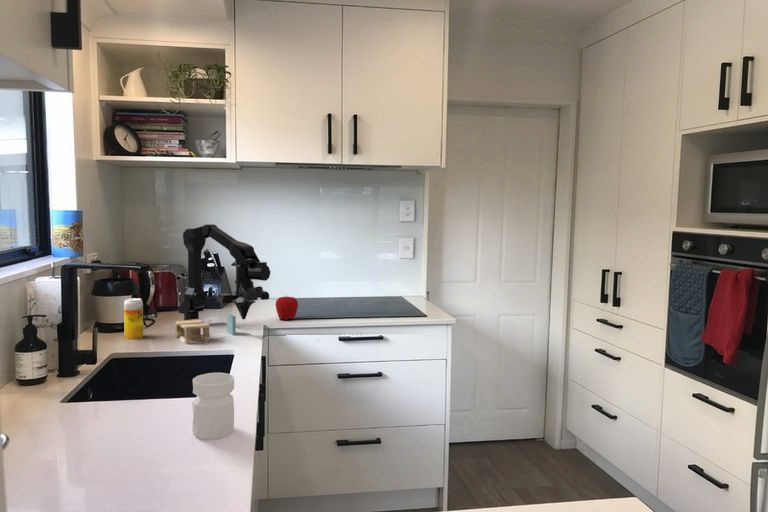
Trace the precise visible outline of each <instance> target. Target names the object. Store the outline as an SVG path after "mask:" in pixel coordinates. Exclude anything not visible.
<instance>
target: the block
mask: <svg viewBox="0 0 768 512" xmlns="http://www.w3.org/2000/svg"><path fill="white" fill-rule="evenodd" d="M201 330H202V328H197V329H191V342H194V341H193V340H198V341H202V340H201V336H202V335H201V332H202V331H201ZM184 338H185V329H184Z"/></svg>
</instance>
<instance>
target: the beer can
mask: <svg viewBox="0 0 768 512" xmlns="http://www.w3.org/2000/svg"><path fill="white" fill-rule="evenodd" d="M143 303H144V302H143V299H142V298H138V297H137V298H135V297H132V298H130V297H129V298H125V300H124V302H123V320H124V322H123V323H124V324H123V325H124V328H123V329H124V333H123V334H124V339H127V340H135V339H141V338H143V337H144V304H143Z"/></svg>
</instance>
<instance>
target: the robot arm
mask: <svg viewBox="0 0 768 512" xmlns="http://www.w3.org/2000/svg"><path fill="white" fill-rule="evenodd" d="M208 238H211V239H212V240H213V241H215V242H216V243H218V244H219V245H220V246H222V247H223V248H225V249H226V250H228V251H229V252H228V253H229V254H230V256H231V257H232V258H233V259H234V261H233V262H232V263H231V264H230V266H231V267H235V279H234V284H235V290H234V294H230V293H228V292H227V293H226V292H225V293H218V295H217V297H216V301H217V302H218V303H221V304H232V303H233V304H235V307H236V308H237V309H238V312H239V315H240V317H241V319H242V320H246V317H247V315H248V313H249V310H250V308H251V306H252V305H253V304H255V303H256V301H258V299H261V301H265V300H270V293H269V292H268V291H265V290H264V289H263V287H262V285H261V286H259V285H258V286H254V281H252V280H256V281H264V282H266V281H268V280H269V279H270V277H271V269H270V267H269V266H268V263H267V261H263V262H262V261H261V260H260V258H259V257H258V255H257V254H256V252H255V248H254V247H253V245H251V244H249V243H246V242H243V241H239V240H237V239H235V238H234V237H232V236H231V235H230V234H228V233H226V232H225V231H224V230H222V229H221V228H219V227H218V226H217V225H216V224H212V223H211V224H208V223H207V224H204V225H201V226H198V227H195V228H187V229H185V230H184V231H183V234H182V239H183V245H184V246H185V248H186V250H187V264H188V265H187V266H188V267H187V280H188V284H187V285H188V287H187V288H186V290H185V293H184V296H183V301H182V303H181V304H180V305H179V306H178V307H177V311H178V313H179V314H182V315H183V320H192V319H199V320H200V312H203V311H204V309H205V306H206V305H207V302H208V291H207V290H204V288H203V286H202V251H203V249H204V247H205V245H206V240H207V239H208Z"/></svg>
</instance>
